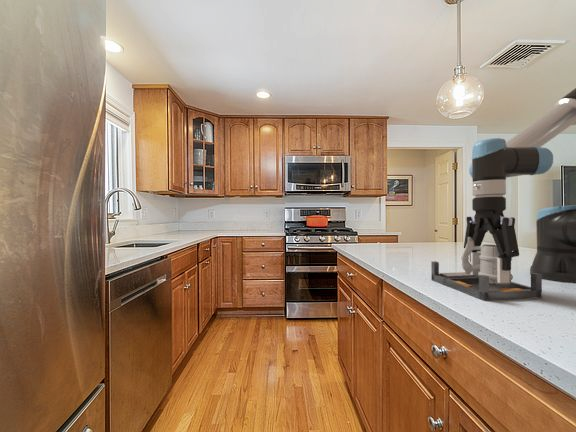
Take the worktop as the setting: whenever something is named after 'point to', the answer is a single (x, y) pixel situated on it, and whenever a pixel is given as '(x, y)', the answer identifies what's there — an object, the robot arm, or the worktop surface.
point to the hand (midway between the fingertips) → (488, 278)
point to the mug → (483, 261)
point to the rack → (487, 285)
